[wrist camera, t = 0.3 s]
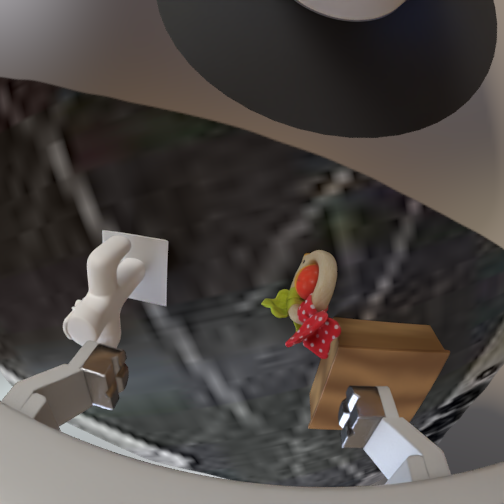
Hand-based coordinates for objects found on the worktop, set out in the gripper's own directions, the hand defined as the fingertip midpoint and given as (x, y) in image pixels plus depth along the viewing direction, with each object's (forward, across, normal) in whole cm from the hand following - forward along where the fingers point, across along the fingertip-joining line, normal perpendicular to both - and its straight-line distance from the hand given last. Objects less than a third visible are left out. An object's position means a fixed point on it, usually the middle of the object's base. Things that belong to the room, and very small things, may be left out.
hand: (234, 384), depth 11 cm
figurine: (+23, +12, +6) cm, 27 cm away
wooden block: (+23, -16, +17) cm, 33 cm away
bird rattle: (+23, -5, +6) cm, 24 cm away
